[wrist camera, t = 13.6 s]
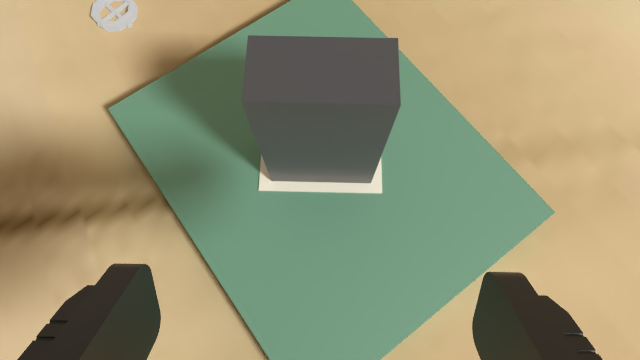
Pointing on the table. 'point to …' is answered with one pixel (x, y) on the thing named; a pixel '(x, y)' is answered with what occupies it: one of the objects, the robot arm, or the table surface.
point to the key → (122, 20)
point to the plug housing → (321, 104)
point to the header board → (328, 202)
